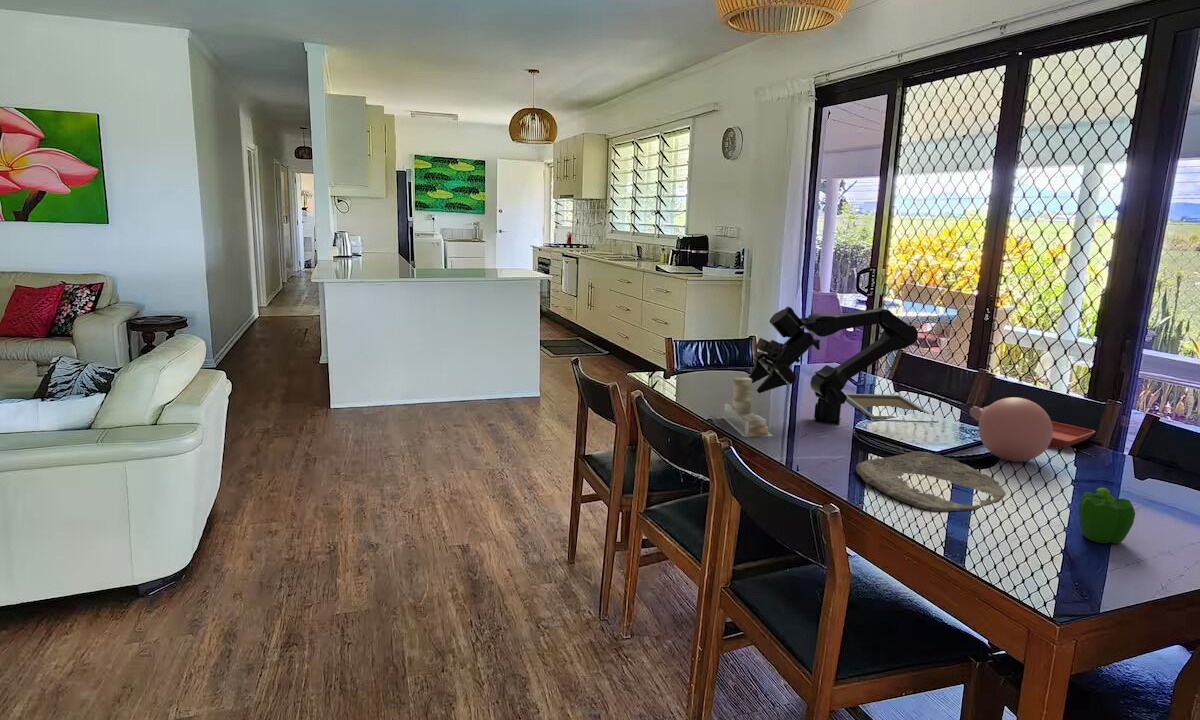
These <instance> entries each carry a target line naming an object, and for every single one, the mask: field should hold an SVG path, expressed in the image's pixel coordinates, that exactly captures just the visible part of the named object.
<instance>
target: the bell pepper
mask: <svg viewBox="0 0 1200 720" xmlns="http://www.w3.org/2000/svg"><path fill="white" fill-rule="evenodd" d="M1095 491H1096V492H1091V491H1085V492H1084V494H1083V495H1082V496H1081V498H1080V500H1079V506H1078V507H1079V508H1078V517H1079V518H1078V519H1079V526H1080V531H1081V533H1082V534H1083V536H1084V538H1086V539H1087V540H1090V541H1091V542H1094V543H1097V544H1109V543H1110V544H1117V545H1119V544H1121V542H1123V541H1124V540H1125V539H1126V537H1127V535H1129V532H1130V530H1131V529H1132V526H1133V525H1134V522H1135V518H1136V517H1135V516H1136V511H1135V509H1134V505H1133V504H1132V502H1131V500H1130V499H1126V498H1115V496H1112V494H1111V491H1110V490H1109V489H1108V488H1106V487H1099V488H1097V489H1096V490H1095Z"/></svg>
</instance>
